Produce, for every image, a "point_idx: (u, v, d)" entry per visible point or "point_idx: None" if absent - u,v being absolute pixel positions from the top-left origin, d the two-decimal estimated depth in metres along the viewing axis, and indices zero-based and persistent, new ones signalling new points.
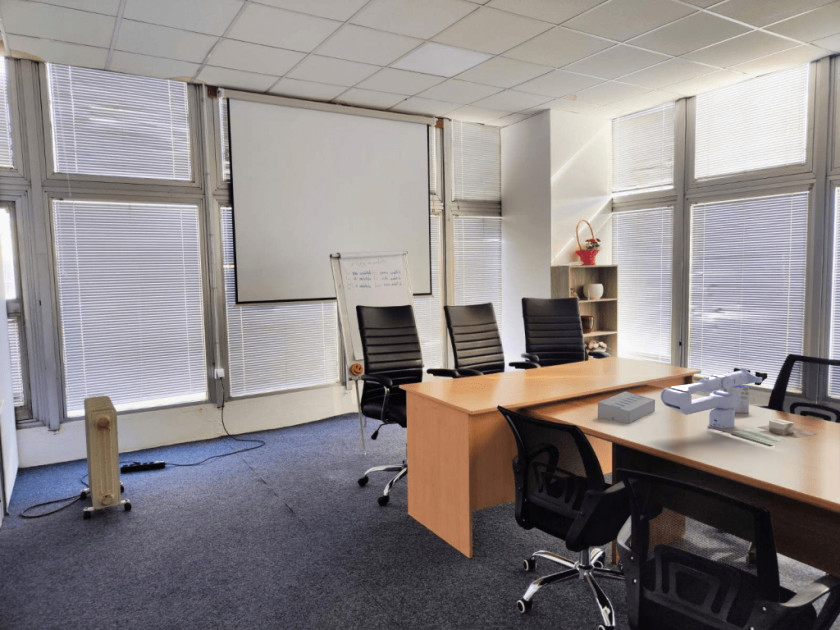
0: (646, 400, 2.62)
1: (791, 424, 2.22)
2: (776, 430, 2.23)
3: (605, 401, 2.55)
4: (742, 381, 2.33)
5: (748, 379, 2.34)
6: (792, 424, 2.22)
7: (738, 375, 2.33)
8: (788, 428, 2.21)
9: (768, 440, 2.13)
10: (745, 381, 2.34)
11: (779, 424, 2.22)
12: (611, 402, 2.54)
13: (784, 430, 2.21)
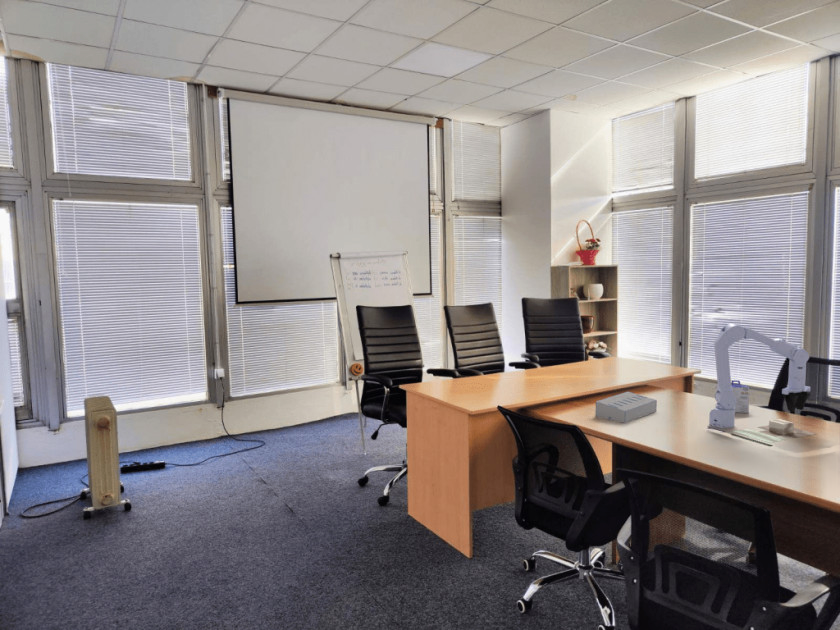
0: (647, 400, 2.61)
1: (791, 424, 2.22)
2: (776, 430, 2.23)
3: (603, 400, 2.56)
4: (790, 378, 2.25)
5: (791, 387, 2.25)
6: (792, 424, 2.22)
7: (804, 376, 2.23)
8: (788, 428, 2.21)
9: (768, 440, 2.13)
10: (789, 383, 2.26)
11: (779, 424, 2.22)
12: (609, 402, 2.55)
13: (784, 430, 2.21)
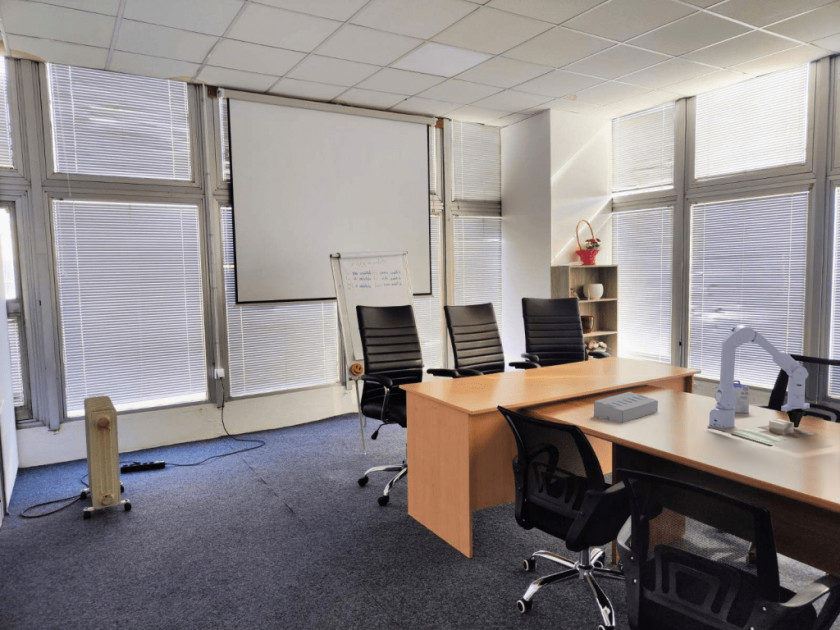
0: (647, 401, 2.61)
1: (791, 424, 2.22)
2: (776, 430, 2.23)
3: (602, 400, 2.56)
4: (789, 395, 2.26)
5: (790, 404, 2.26)
6: (792, 424, 2.22)
7: (803, 393, 2.24)
8: (788, 428, 2.21)
9: (768, 440, 2.13)
10: (789, 400, 2.27)
11: (779, 424, 2.22)
12: (608, 401, 2.56)
13: (784, 430, 2.21)
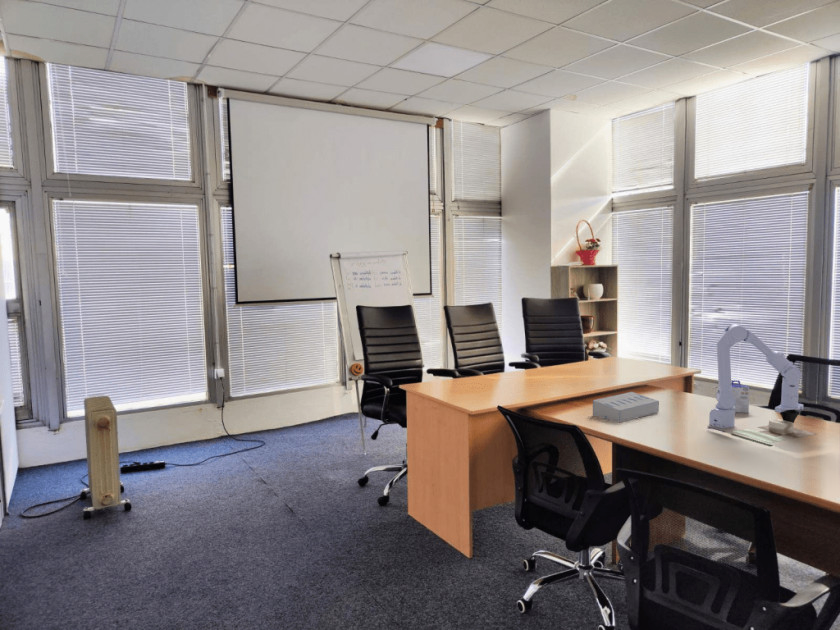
0: (648, 401, 2.60)
1: (791, 424, 2.22)
2: (776, 430, 2.23)
3: (601, 400, 2.57)
4: (783, 396, 2.25)
5: (783, 405, 2.24)
6: (792, 424, 2.22)
7: (797, 394, 2.22)
8: (787, 428, 2.21)
9: (768, 440, 2.13)
10: (782, 401, 2.25)
11: (779, 424, 2.22)
12: (607, 401, 2.56)
13: (784, 430, 2.21)
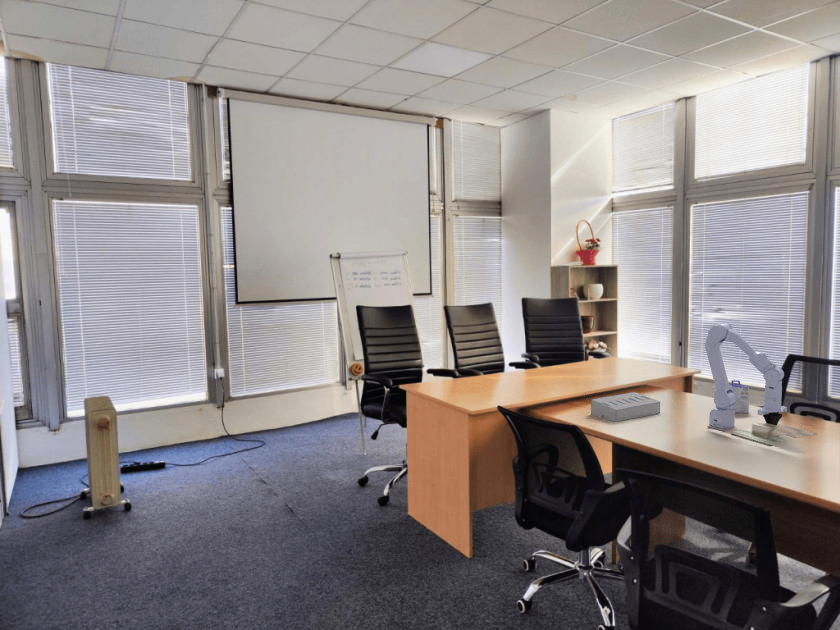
0: (649, 401, 2.60)
1: (774, 427, 2.18)
2: (759, 433, 2.19)
3: (600, 399, 2.59)
4: (766, 399, 2.21)
5: (766, 407, 2.21)
6: (775, 427, 2.18)
7: (777, 396, 2.18)
8: (771, 431, 2.17)
9: (768, 440, 2.13)
10: (765, 403, 2.21)
11: (762, 427, 2.18)
12: (606, 400, 2.57)
13: (767, 434, 2.16)
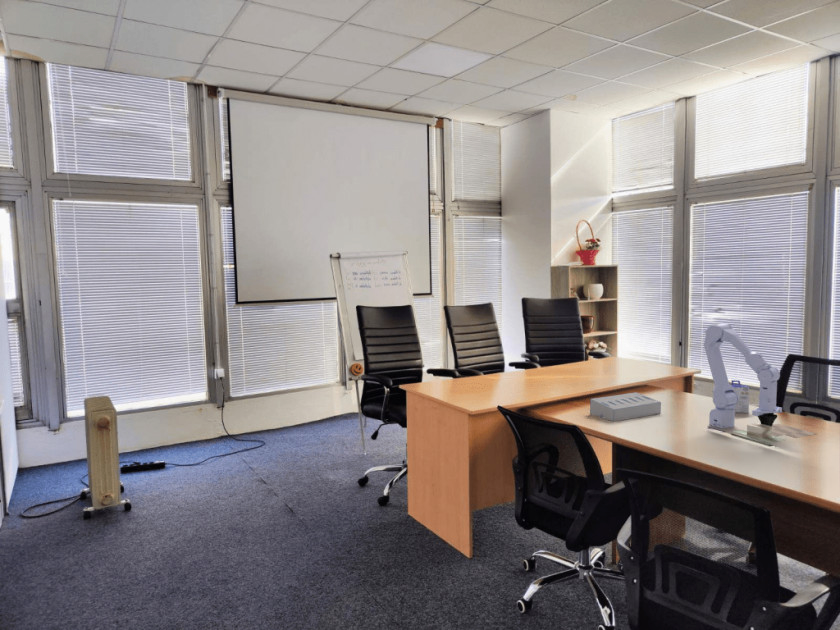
0: (649, 401, 2.59)
1: (769, 428, 2.16)
2: (754, 434, 2.18)
3: (599, 399, 2.59)
4: (761, 399, 2.19)
5: (761, 408, 2.19)
6: (770, 428, 2.17)
7: (770, 397, 2.17)
8: (765, 432, 2.16)
9: (768, 440, 2.13)
10: (760, 404, 2.20)
11: (757, 428, 2.16)
12: (605, 400, 2.58)
13: (762, 435, 2.15)
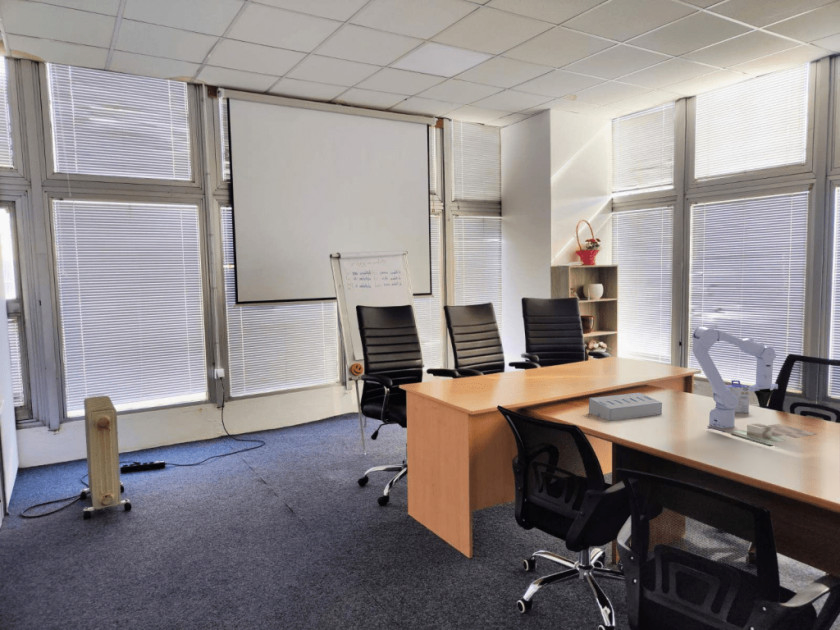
0: (649, 402, 2.58)
1: (769, 428, 2.16)
2: (754, 434, 2.18)
3: (598, 398, 2.61)
4: (757, 376, 2.31)
5: (758, 384, 2.31)
6: (770, 428, 2.17)
7: (771, 373, 2.29)
8: (765, 432, 2.16)
9: (768, 440, 2.13)
10: (757, 380, 2.32)
11: (757, 428, 2.16)
12: (604, 399, 2.59)
13: (762, 435, 2.15)
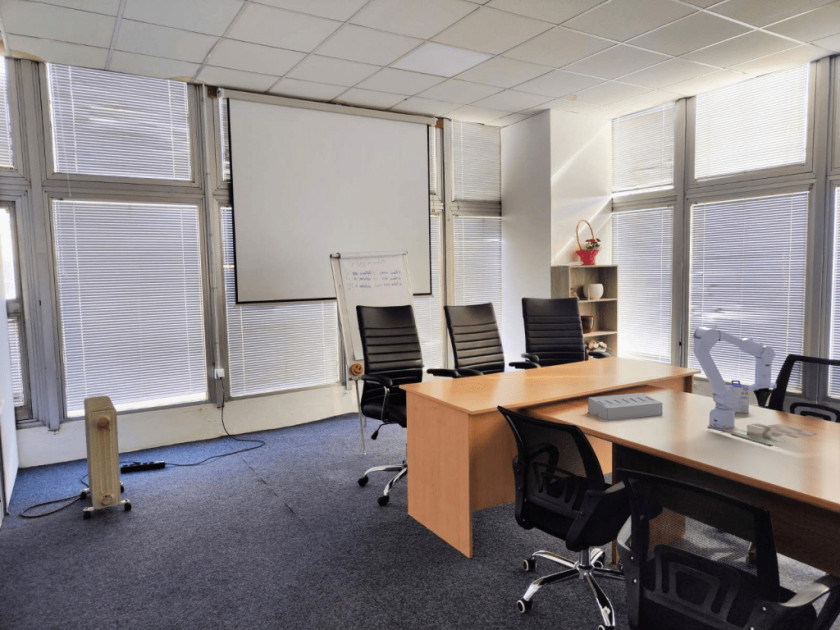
0: (650, 402, 2.58)
1: (769, 428, 2.16)
2: (754, 434, 2.18)
3: (598, 397, 2.62)
4: (756, 375, 2.32)
5: (757, 384, 2.32)
6: (770, 428, 2.17)
7: (770, 372, 2.30)
8: (765, 432, 2.16)
9: (768, 440, 2.13)
10: (756, 380, 2.33)
11: (757, 428, 2.16)
12: (603, 399, 2.60)
13: (762, 435, 2.15)
